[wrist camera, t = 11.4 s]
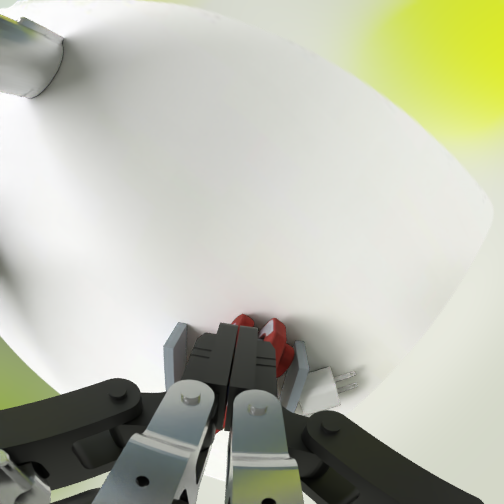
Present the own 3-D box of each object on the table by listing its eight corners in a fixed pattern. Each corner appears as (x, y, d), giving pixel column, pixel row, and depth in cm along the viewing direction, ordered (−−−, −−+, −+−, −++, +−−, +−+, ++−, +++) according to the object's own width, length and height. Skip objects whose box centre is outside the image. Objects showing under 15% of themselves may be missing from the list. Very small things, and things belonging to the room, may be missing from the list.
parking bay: (178, 322, 29) (163, 346, 24) (303, 341, 28) (309, 369, 23) (178, 390, 31) (168, 416, 27) (284, 407, 31) (285, 435, 26)
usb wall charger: (294, 374, 30) (296, 396, 26) (350, 357, 29) (358, 377, 25) (302, 395, 30) (305, 417, 27) (354, 379, 30) (362, 400, 26)
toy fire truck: (305, 330, 28) (319, 396, 18) (236, 392, 31) (225, 457, 21) (255, 293, 27) (248, 352, 17) (190, 363, 30) (164, 425, 20)
